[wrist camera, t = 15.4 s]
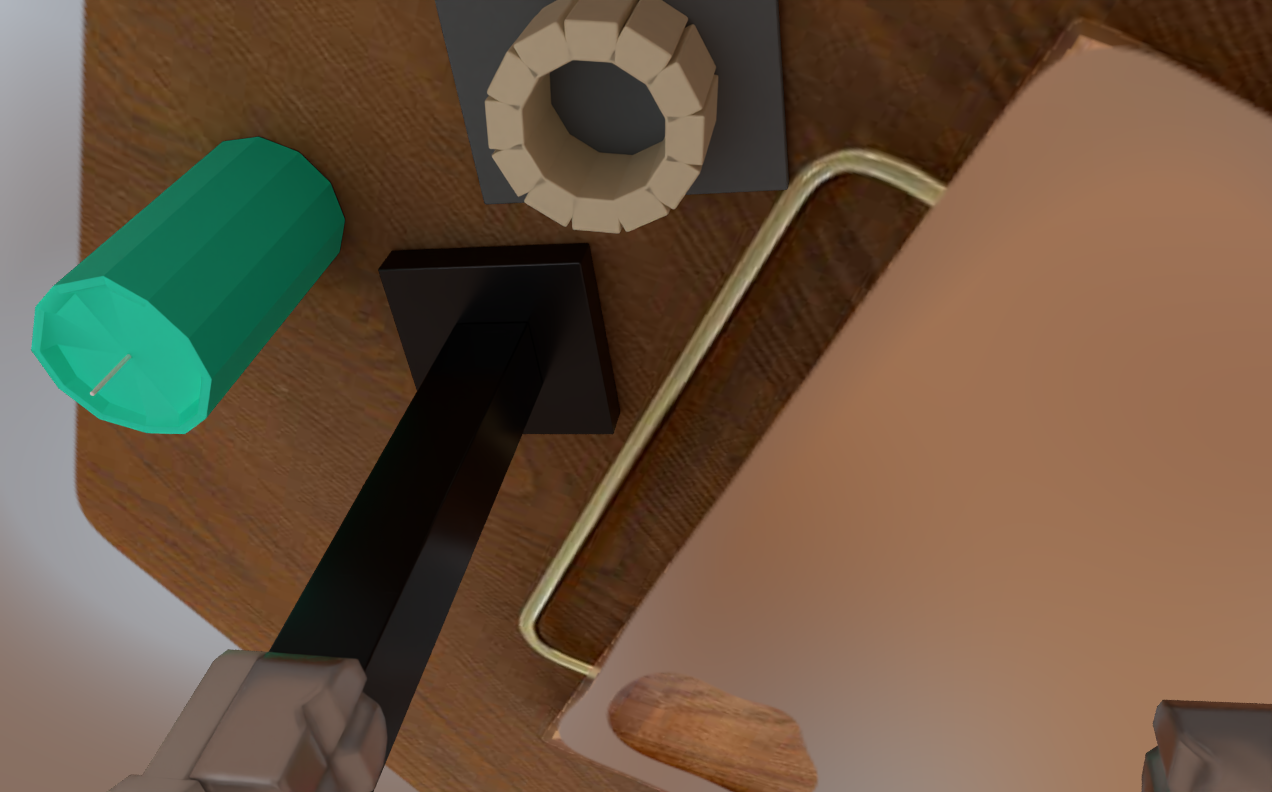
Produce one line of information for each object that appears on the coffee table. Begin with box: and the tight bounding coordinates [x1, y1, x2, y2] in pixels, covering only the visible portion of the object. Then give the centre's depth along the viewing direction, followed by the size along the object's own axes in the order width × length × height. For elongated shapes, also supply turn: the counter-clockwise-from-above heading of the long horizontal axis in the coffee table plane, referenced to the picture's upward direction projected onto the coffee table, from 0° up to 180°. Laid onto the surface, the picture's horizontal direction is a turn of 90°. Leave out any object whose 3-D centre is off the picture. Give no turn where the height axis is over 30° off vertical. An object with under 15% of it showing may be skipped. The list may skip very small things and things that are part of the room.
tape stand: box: [269, 243, 620, 792], centre depth 31 cm, size 8×8×31 cm
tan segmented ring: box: [485, 0, 718, 233], centre depth 34 cm, size 7×7×4 cm
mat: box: [435, 0, 789, 204], centre depth 35 cm, size 10×11×1 cm
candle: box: [31, 137, 345, 434], centre depth 36 cm, size 6×6×12 cm
